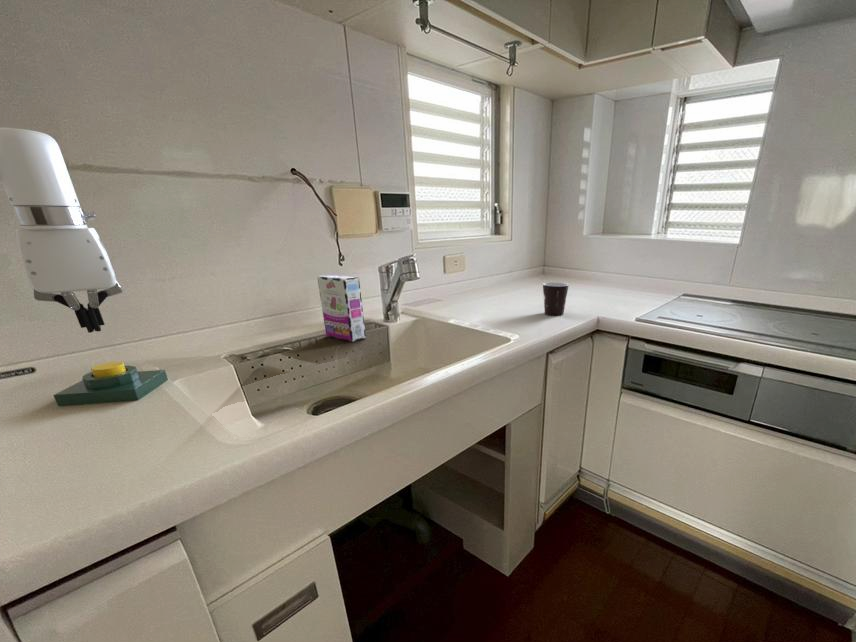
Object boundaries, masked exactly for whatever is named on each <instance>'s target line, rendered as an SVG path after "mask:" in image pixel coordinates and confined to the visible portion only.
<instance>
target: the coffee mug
mask: <svg viewBox="0 0 856 642" xmlns="http://www.w3.org/2000/svg"><path fill="white" fill-rule="evenodd" d="M569 285H570V284H569V283H566V282H558V281H556V282H555V281H554V282H553V281H552V282H551V281H550V282H543V283H542V289H543V290H542V292H543V293H542V294H543V307H544V315H545V316H551V317H552V316H553V317H561V316H563V315H564V312H565V308H566V303H567V297H568V290H569Z"/></svg>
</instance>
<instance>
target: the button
mask: <svg viewBox="0 0 856 642" xmlns="http://www.w3.org/2000/svg"><path fill="white" fill-rule="evenodd" d="M125 366H126V365H125V363H124V362H123V361H110V362H104V363H100V364H96V365H94V366H92V367H90V370H91V372H92V373H93V376H94V377H95V378H99V377H108V376H114V375H118V374H121V373H124V372H126V369H125Z"/></svg>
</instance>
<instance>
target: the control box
mask: <svg viewBox="0 0 856 642" xmlns="http://www.w3.org/2000/svg"><path fill="white" fill-rule="evenodd" d="M124 366H125V369H126V372H124V373H121V374H118V375H114V376H108V377H99V378H95V377H94V376H93V373H92V371H89V372H88V373H86V374H84V375H82V376H81V377H82V378H81V379H82V380H81V381H78V382H76V383H74V384H71V385H70V386H69V387H67V388H64V389H63V390H60V391H58V392H57V393H55V394H53V398H54V400H55V402H56V405H57V406H58V407H69V406H70V407H71V406H82V405H95V404H96V405H97V404H107V403H108V404H110V403H124V402H136V401H140V400H141V399H143V398H145V396H147V395H148V394H150V393H151V392H153V391H154V390H156V389H157V388H159V387H160V386H162V385H163V384H165V383H166V382H167V381H168V380H169V378H168V376H167V372H166V369H157V370H156V369H155V370H141V371H140V370H139V371H138V369H137V367H136V366H134V365H124Z"/></svg>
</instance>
